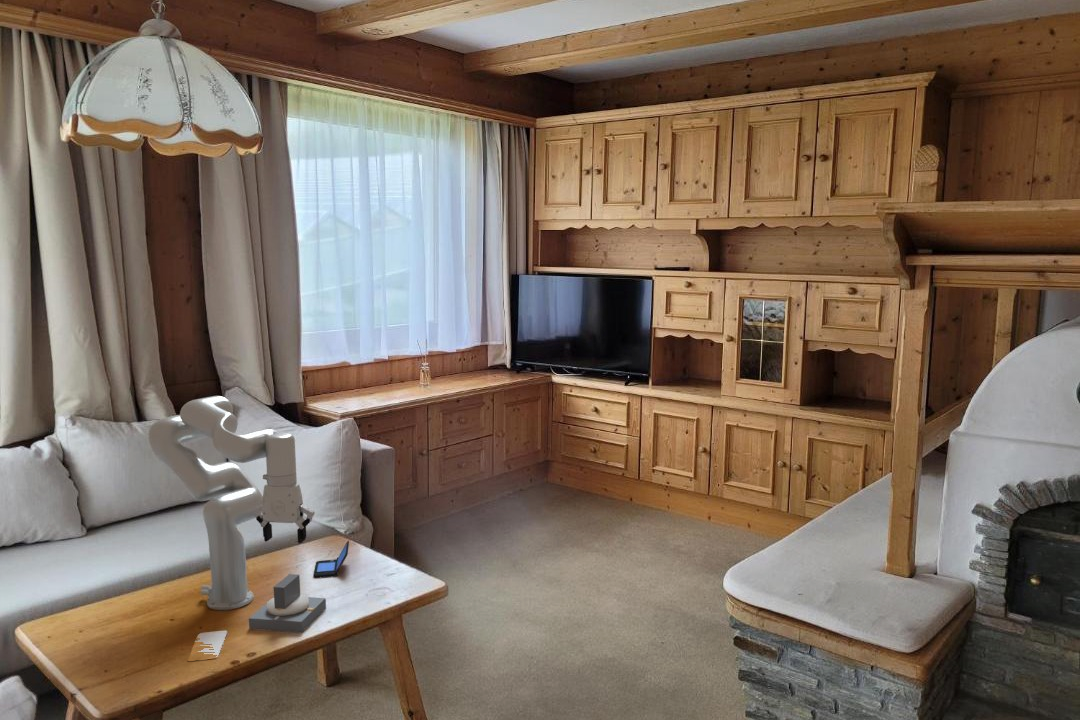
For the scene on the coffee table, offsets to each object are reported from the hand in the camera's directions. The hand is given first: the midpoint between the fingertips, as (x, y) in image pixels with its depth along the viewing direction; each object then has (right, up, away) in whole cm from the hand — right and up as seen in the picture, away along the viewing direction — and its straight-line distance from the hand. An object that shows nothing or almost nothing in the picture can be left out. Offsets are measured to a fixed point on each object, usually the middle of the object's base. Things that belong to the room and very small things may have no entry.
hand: (285, 540), depth 219 cm
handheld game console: (+3, -18, +38) cm, 42 cm away
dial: (0, -19, +2) cm, 19 cm away
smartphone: (-16, -25, -13) cm, 32 cm away
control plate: (0, -22, +3) cm, 22 cm away
